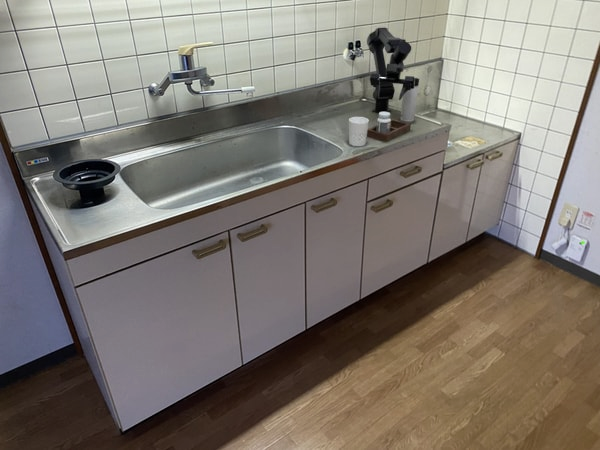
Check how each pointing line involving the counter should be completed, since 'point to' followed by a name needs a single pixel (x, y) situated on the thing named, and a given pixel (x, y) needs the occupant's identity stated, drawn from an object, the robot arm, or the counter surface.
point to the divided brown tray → (393, 132)
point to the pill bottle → (383, 122)
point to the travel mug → (409, 104)
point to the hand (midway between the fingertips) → (388, 98)
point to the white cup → (358, 131)
